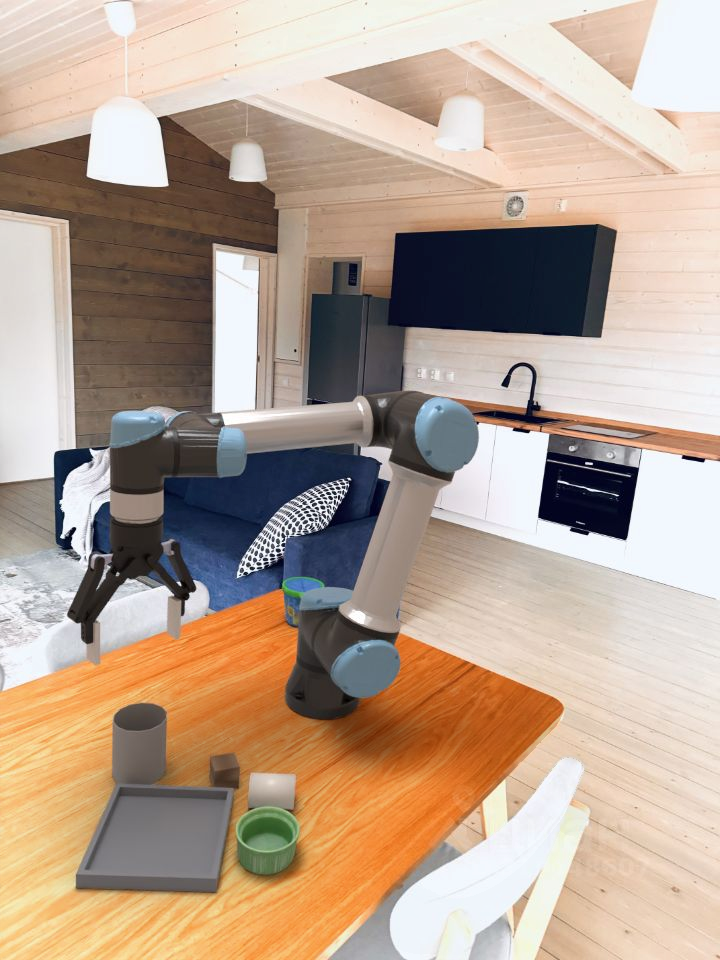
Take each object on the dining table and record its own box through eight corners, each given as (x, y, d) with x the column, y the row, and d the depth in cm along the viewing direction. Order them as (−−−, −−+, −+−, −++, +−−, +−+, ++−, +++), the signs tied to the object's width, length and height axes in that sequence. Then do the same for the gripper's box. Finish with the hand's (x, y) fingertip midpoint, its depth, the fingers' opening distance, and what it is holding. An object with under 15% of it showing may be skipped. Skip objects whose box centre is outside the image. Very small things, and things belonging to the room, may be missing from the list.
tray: (233, 799, 108) (233, 788, 108) (216, 892, 91) (216, 878, 90) (116, 795, 107) (116, 783, 106) (75, 888, 89) (75, 874, 89)
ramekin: (243, 827, 103) (245, 802, 102) (302, 836, 102) (305, 810, 101) (225, 873, 94) (227, 846, 93) (290, 884, 93) (293, 856, 92)
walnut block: (233, 773, 114) (234, 752, 114) (238, 788, 111) (240, 766, 110) (209, 777, 113) (209, 756, 112) (213, 793, 109) (214, 771, 108)
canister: (294, 797, 110) (296, 768, 110) (293, 816, 105) (295, 785, 105) (250, 796, 110) (252, 766, 109) (246, 814, 105) (249, 783, 104)
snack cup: (322, 636, 167) (325, 597, 165) (278, 635, 166) (281, 595, 163) (320, 610, 182) (323, 574, 180) (280, 608, 181) (283, 572, 179)
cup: (149, 793, 108) (150, 736, 106) (101, 782, 109) (102, 725, 107) (174, 761, 116) (176, 707, 114) (129, 751, 118) (130, 698, 115)
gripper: (193, 499, 114) (190, 619, 118) (40, 523, 95) (43, 663, 100) (221, 510, 109) (216, 634, 113) (65, 537, 91) (67, 683, 95)
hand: (135, 648), depth 107 cm, fingers open, 13 cm apart
